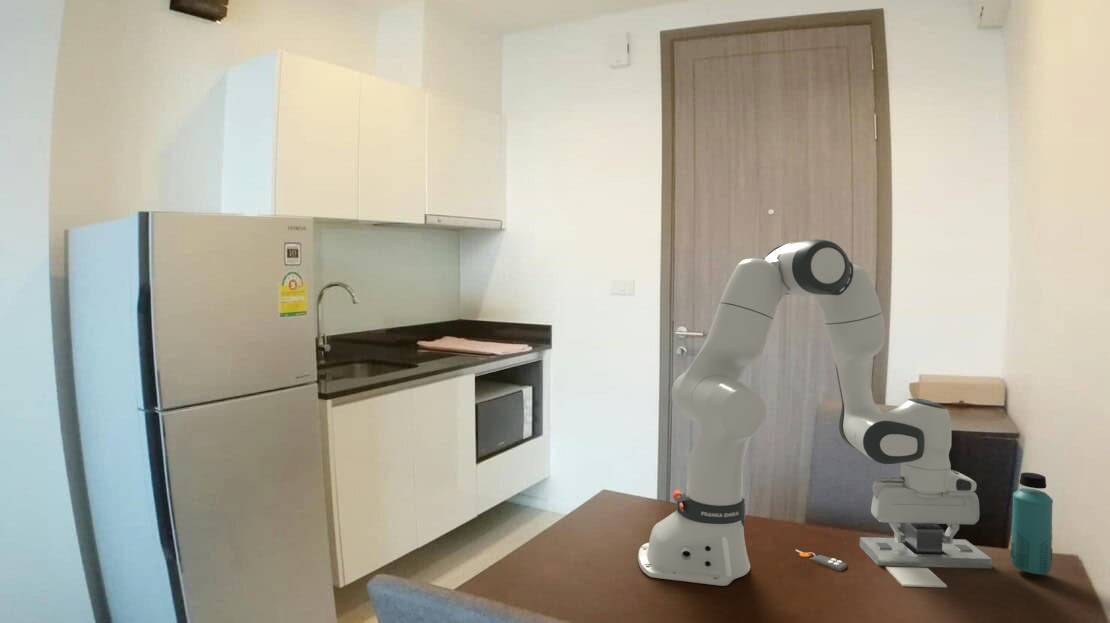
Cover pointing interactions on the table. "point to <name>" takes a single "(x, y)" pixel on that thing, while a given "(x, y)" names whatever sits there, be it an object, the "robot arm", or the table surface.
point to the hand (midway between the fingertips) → (923, 542)
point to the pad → (915, 577)
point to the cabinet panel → (900, 555)
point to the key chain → (825, 561)
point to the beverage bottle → (1032, 526)
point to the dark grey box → (924, 538)
